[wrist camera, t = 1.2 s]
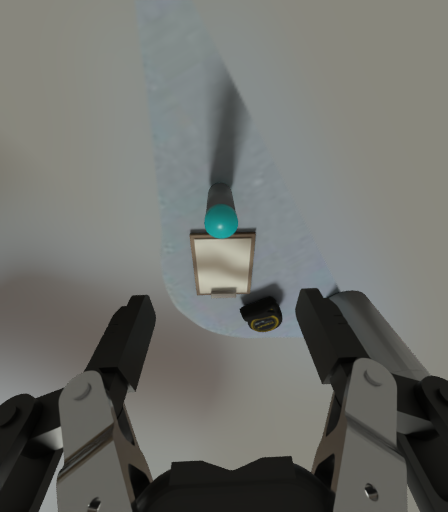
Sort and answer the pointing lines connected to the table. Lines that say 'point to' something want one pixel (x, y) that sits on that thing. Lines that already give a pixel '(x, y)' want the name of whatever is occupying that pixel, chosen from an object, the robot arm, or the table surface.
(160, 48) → the table surface
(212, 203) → the marker
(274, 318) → the tape measure
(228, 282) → the clipboard
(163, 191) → the table surface
